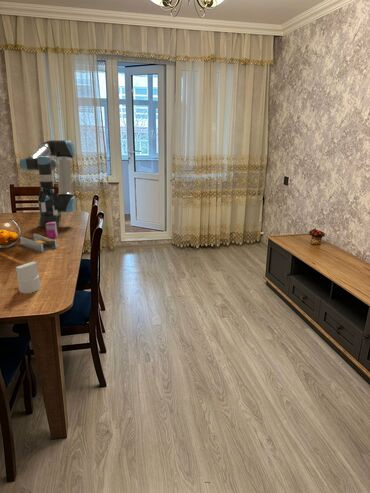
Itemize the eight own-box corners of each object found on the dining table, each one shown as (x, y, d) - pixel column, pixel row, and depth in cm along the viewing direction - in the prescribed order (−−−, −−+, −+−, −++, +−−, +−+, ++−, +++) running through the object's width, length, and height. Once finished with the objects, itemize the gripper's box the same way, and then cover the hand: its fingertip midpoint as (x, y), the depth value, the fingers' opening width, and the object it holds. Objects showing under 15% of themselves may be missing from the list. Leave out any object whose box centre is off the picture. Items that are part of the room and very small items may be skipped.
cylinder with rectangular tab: (27, 295, 153) (23, 270, 149) (15, 290, 157) (11, 265, 154) (44, 287, 160) (41, 263, 156) (32, 283, 165) (29, 260, 161)
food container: (65, 218, 287) (64, 207, 284) (60, 220, 281) (59, 208, 278) (53, 217, 291) (52, 205, 288) (48, 219, 285) (47, 207, 282)
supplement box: (49, 238, 235) (47, 221, 231) (58, 237, 235) (56, 221, 232) (47, 240, 229) (45, 224, 226) (56, 240, 230) (54, 223, 226)
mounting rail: (19, 246, 217) (18, 237, 215) (37, 242, 226) (36, 233, 224) (40, 254, 203) (39, 245, 201) (58, 249, 212) (57, 240, 210)
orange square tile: (30, 243, 213) (29, 242, 212) (40, 241, 218) (40, 239, 218) (36, 245, 209) (36, 244, 208) (46, 243, 214) (46, 241, 214)
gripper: (30, 179, 224) (34, 211, 231) (52, 183, 210) (55, 217, 216) (40, 178, 230) (44, 210, 236) (62, 182, 216) (66, 215, 222)
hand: (49, 213), depth 226 cm, fingers open, 13 cm apart
